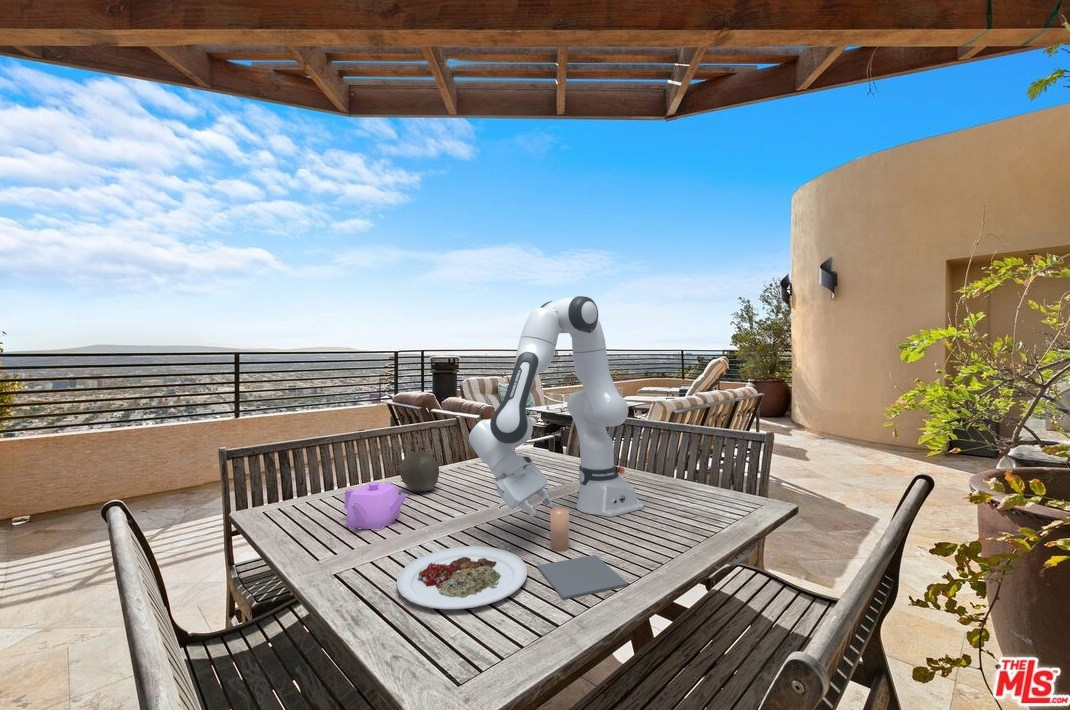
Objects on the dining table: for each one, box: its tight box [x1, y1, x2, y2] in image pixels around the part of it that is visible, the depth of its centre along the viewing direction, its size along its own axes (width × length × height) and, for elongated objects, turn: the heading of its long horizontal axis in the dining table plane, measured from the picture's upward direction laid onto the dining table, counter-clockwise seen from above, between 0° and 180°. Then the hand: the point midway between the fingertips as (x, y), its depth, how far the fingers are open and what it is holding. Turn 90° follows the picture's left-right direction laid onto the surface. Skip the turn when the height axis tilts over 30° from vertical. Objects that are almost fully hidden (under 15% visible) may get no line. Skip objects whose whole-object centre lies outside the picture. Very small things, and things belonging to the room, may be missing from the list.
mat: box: [536, 554, 629, 601], centre depth 113 cm, size 16×16×1 cm
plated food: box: [396, 545, 528, 610], centre depth 113 cm, size 30×30×3 cm
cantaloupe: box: [399, 451, 440, 492], centre depth 182 cm, size 14×14×15 cm
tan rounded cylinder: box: [549, 506, 570, 552], centre depth 130 cm, size 5×5×10 cm
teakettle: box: [343, 481, 408, 530], centre depth 151 cm, size 17×17×12 cm
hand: (542, 509), depth 132 cm, fingers open, 8 cm apart
